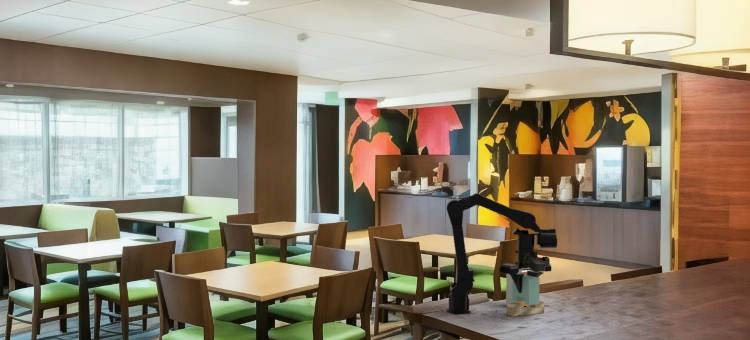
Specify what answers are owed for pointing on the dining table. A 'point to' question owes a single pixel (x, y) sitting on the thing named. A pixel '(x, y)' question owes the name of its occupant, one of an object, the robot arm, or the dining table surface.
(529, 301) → the teal block
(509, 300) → the small box
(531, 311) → the maple rail
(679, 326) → the dining table surface
